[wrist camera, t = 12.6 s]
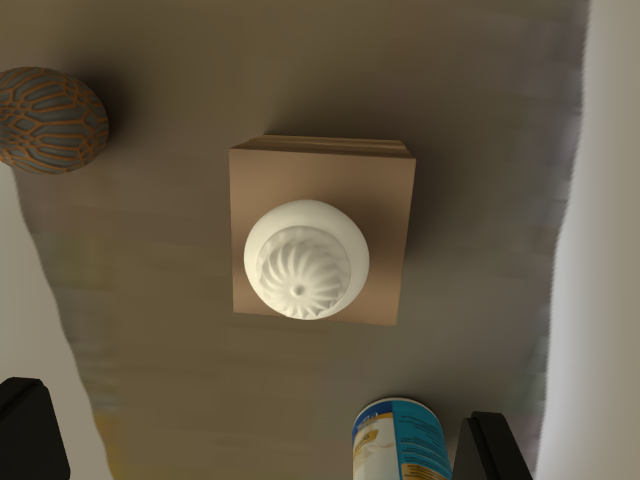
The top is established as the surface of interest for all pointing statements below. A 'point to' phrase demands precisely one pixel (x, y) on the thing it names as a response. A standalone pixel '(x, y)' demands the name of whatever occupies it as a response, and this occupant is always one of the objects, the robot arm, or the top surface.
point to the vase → (49, 121)
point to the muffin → (306, 259)
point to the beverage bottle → (399, 443)
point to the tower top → (338, 191)
